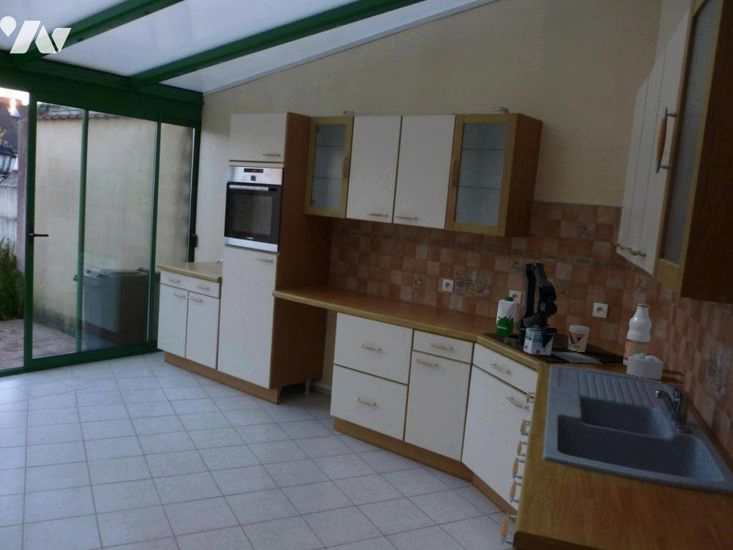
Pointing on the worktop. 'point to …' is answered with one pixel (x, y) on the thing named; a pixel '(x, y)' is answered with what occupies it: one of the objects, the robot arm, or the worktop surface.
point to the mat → (575, 357)
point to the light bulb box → (536, 342)
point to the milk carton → (505, 317)
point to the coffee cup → (578, 338)
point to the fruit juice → (638, 333)
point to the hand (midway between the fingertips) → (538, 345)
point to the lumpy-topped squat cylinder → (645, 366)
